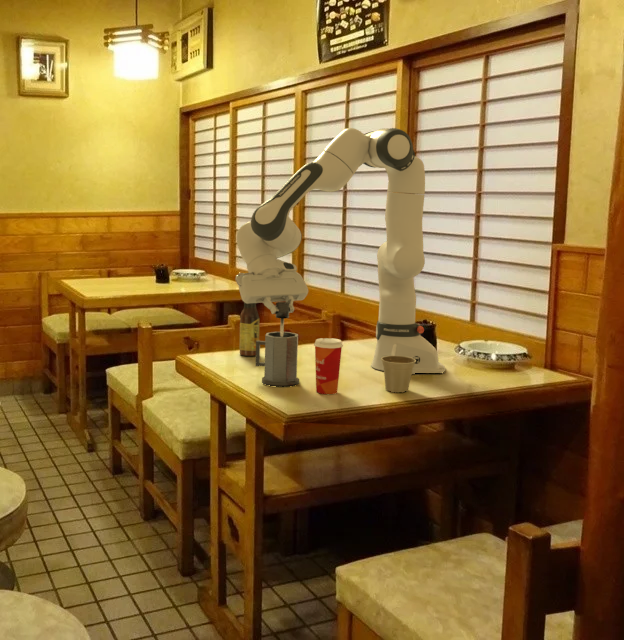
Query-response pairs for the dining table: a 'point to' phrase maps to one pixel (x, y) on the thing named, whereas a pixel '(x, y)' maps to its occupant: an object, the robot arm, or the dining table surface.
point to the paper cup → (327, 364)
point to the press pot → (279, 359)
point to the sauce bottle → (249, 329)
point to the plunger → (282, 314)
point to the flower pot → (397, 372)
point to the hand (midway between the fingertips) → (283, 312)
